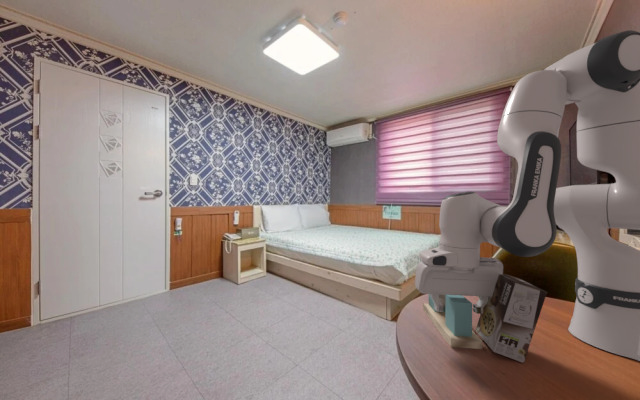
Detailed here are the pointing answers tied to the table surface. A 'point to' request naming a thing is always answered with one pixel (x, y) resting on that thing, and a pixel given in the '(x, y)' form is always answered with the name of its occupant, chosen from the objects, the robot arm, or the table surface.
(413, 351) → the table surface
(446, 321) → the teal block white top
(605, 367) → the table surface
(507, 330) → the coffee box
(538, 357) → the table surface
